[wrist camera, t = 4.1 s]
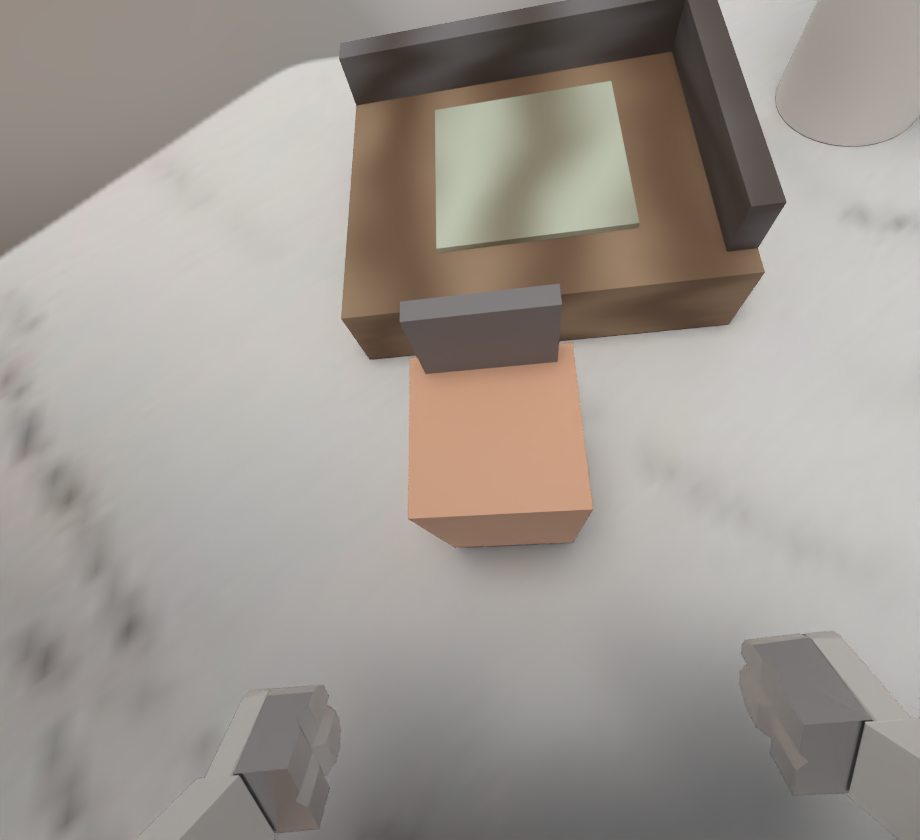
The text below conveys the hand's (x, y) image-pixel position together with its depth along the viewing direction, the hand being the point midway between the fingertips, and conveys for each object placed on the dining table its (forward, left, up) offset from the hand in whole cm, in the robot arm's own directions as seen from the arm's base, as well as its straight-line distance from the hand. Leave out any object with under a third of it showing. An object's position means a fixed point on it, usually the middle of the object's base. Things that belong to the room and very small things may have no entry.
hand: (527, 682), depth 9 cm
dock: (+1, +21, -11) cm, 24 cm away
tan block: (-1, +6, -11) cm, 13 cm away
